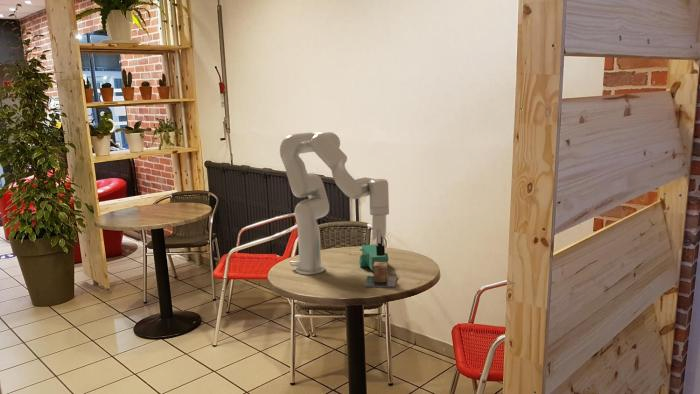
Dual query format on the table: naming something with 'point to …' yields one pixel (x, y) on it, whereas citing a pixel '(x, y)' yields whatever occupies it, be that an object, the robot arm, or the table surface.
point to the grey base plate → (389, 284)
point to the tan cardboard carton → (380, 271)
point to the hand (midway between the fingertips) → (380, 255)
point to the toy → (370, 256)
